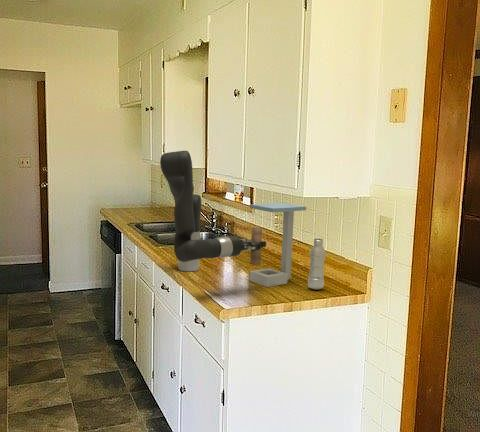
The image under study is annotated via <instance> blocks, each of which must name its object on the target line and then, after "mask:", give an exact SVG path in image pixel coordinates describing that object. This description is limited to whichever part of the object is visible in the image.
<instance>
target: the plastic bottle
mask: <svg viewBox="0 0 480 432" xmlns="http://www.w3.org/2000/svg"><path fill="white" fill-rule="evenodd" d="M312 243H313V246H312V247H311V248H310V249H309V265H310V266H309V273H308V278H307V286H308V288H309V289H311V290H322V289H323V288H324V284H325V277H324V269H325V267H324V266H325V260H326V254H327V252H326V250H325V247H324V239H323V238H313V242H312Z"/></svg>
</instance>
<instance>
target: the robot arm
mask: <svg viewBox="0 0 480 432" xmlns="http://www.w3.org/2000/svg"><path fill="white" fill-rule="evenodd" d="M159 160H160V161H159V162H160V163H159V164H160V165H159V166H160V170H161V172H162V175H163V176H164V178H165V180H166V181H167V184H168V186H169V190H170V192H171V195H172V197H173V199H174V210H173V218H174V228H175V234H174V242H173V251H174V255H175V257H176V259H177V262H178V263H177V269H178V270H179V271H181V272H195V271H199V270H200V259H201V260H202V259H215V258H216V259H217V258H230V257H231V258H232V257H237V256H239V255H240V254H241V253H242V252H247V251H250V252H251V251H252V252H253V251H257V250H260V249H261V250H262V248H265V247H266V246H267V241H266V240H265V241H263V240H262V241H261V242H254V241H251V239H249V238H248V239H247V238H239V237H238V236H236V235H229V236H220V237H215V238H207V239H201V238H200V237H201V215H202V214H201V213H202V197H201V195H200V194H194V190H195V188H194V181H193V179H194V177H193V171H194V170H193V162H192V161H193V160H192V157H191V154H190V152H189V150H177V151H170V152H169V151H168V152H165V153H163V154H161V156H160V159H159Z"/></svg>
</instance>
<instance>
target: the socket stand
mask: <svg viewBox="0 0 480 432" xmlns="http://www.w3.org/2000/svg"><path fill="white" fill-rule="evenodd" d="M249 206H250V209H251V210H252V209H253V210H258V211H263V212H269V213H282V212H283V219H282V220H283V221H282V222H283V223H282V238H281V239H282V241H281V243H282V244H281V259H280V260H281V261H280V263H281V264H280V270H277V269H274V268H271V267H269V268H262V269H257V270H250V271H249V281H250V282H252V283H255V284H258V285H260V286H262V287H263V286H264V287H266V288H268V287H269V288H270V287H274V286H279V285H286V284H288V281H289V279H290V280H292V279H291V276H292V261H293V260H292V255H293V237H294V222H295V221H294V216H295V212H300V211H302V212H304V211H307V206H306V205H298V204H293V203H287V202H274V203H273V202H272V203H254V204H253V203H252V204H250V205H249Z"/></svg>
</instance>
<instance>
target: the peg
mask: <svg viewBox="0 0 480 432" xmlns="http://www.w3.org/2000/svg"><path fill="white" fill-rule="evenodd" d="M250 237H251V239H250V240H251V241H254V242H261V241H263V239H262V238H263V227H258V226H255V227H252V228H251V236H250ZM249 257H250V261H249V264H250V265H253V266H260V265H261V264H262V263H261V262H262V261H261V260H262V248H261V249H260V250H257V251H253V252H252V251H251V250H250V256H249Z"/></svg>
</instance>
